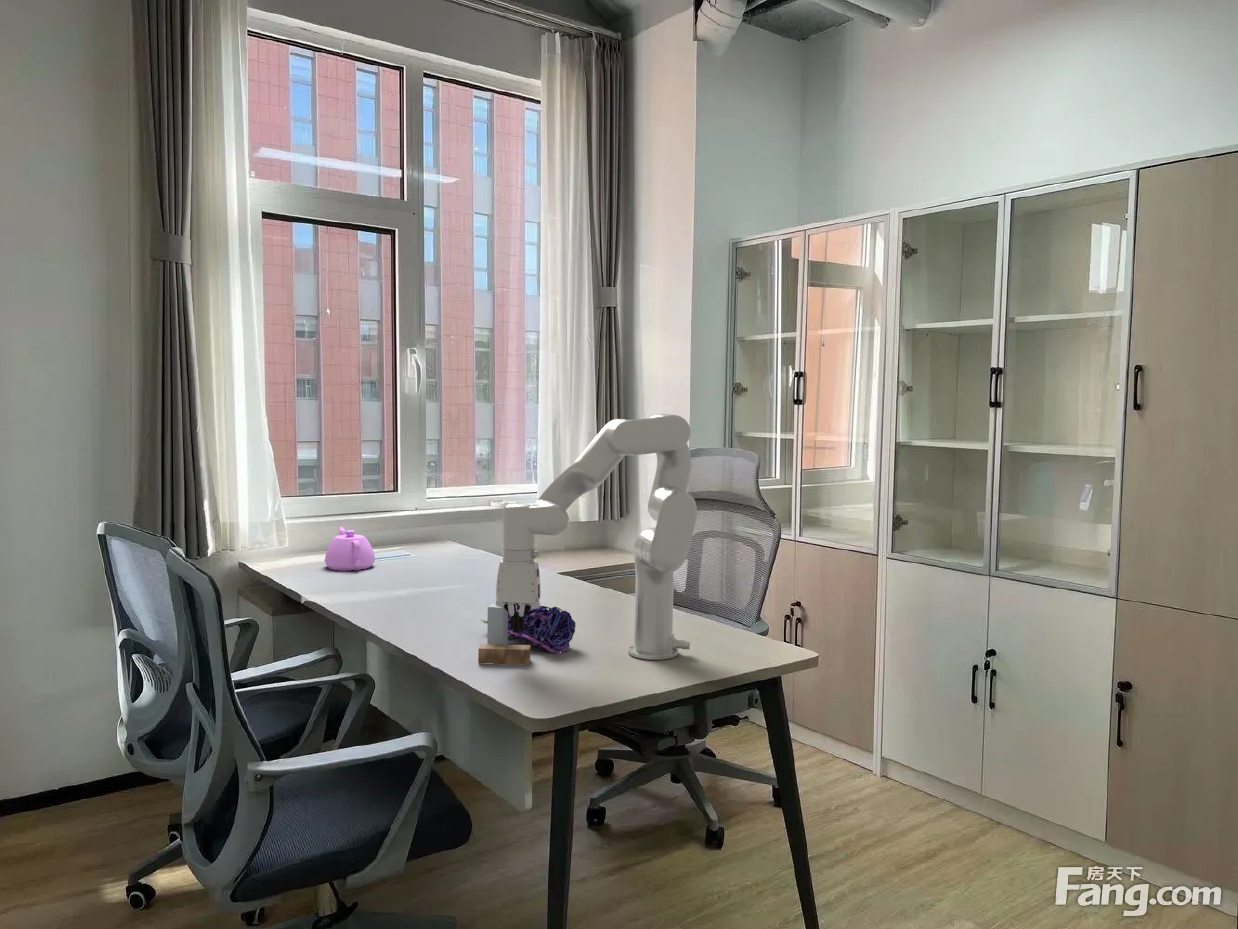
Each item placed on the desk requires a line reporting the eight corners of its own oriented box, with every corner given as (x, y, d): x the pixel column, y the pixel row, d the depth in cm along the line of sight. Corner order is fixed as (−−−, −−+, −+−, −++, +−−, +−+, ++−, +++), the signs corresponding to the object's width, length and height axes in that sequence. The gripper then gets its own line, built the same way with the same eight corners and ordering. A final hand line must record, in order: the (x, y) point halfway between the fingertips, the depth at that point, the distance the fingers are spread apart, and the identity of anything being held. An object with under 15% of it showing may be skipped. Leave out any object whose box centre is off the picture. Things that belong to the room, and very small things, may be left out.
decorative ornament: (540, 630, 223) (467, 606, 244) (548, 668, 226) (475, 641, 247) (579, 607, 232) (506, 585, 253) (587, 644, 235) (513, 620, 256)
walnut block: (530, 645, 222) (481, 644, 222) (528, 649, 218) (478, 648, 218) (530, 661, 222) (481, 660, 223) (528, 666, 218) (478, 665, 219)
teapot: (383, 570, 333) (383, 533, 332) (333, 574, 324) (333, 536, 323) (363, 559, 354) (363, 524, 353) (316, 563, 345) (316, 527, 344)
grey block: (507, 651, 230) (507, 604, 229) (503, 655, 226) (503, 607, 225) (492, 650, 230) (492, 603, 229) (487, 654, 226) (487, 607, 225)
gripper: (552, 554, 221) (551, 629, 222) (492, 551, 223) (492, 626, 224) (545, 559, 213) (544, 637, 215) (483, 556, 216) (482, 633, 217)
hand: (517, 631), depth 219 cm, fingers closed
